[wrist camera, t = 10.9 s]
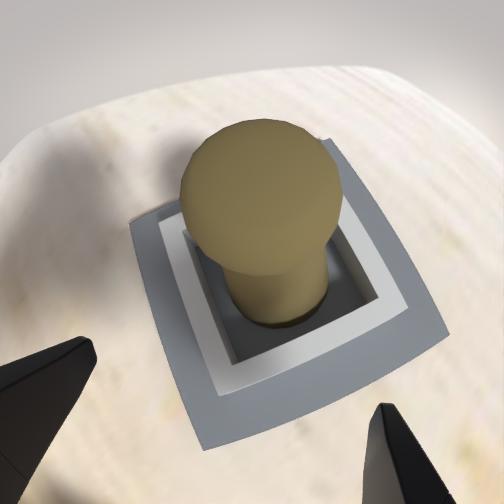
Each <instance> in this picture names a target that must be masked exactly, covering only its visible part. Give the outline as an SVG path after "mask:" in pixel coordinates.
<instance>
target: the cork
mask: <svg viewBox="0 0 504 504" xmlns="http://www.w3.org/2000/svg"><path fill="white" fill-rule="evenodd" d="M342 200H343V191H342V186H341V181H340V176H339V172H338V168H337V164H336V163H335V161H334V159H333V158H332V156H331V155H330V153H329V152H328V150H327V149H326V147H325V146H324V145H323V144H322V143H321V142H320V141H319V140H317V139H316V138H315V137H314V136H312V135H311V134H310V133H308V132H307V131H306V130H305V129H303V128H301V127H298V126H296V125H293V124H291V123H288V122H286V121H279V120H272V119H256V120H247V121H242V122H239V123H236V124H233V125H230V126H227V127H225V128H223V129H221V130H220V131H218V132H217V133H215V134H213V135H212V136H210V137H209V138H207V139H206V140H205V141H204V142H203V143H202V145H201V146H200V147H199V148H198V149H197V150H196V151H195V152H194V153H193V155H192V157H191V160H190V162H189V164H188V166H187V168H186V170H185V172H184V175H183V177H182V180H181V190H180V206H181V211H182V214H183V218H184V222H185V225H186V229H187V231H188V232H189V234H190V235H191V236H192V238H193V239H194V240H195V242H196V243H197V244H198V246H199V247H200V248H201V250H202V251H203V252H204V253H205V255H206V256H207V257H209V258H211V259H212V260H214V261H215V262H217V263H218V264H220V265H221V266H222V269H223V272H224V276H225V279H226V283H227V287H228V290H229V293H230V296H231V299H232V302H233V304H234V305H235V307H236V308H237V309H238V310H239V312H240V313H241V314H242V315H243V316H244V317H245V318H247V319H248V320H250V321H251V322H253V323H254V324H256V325H259V326H263V327H267V328H270V329H281V328H290V327H293V326H295V325H298V324H301V323H303V322H305V321H306V320H308V319H309V318H310V317H311V316H312V315H314V314H315V313H316V312H317V311H318V309H319V308H320V306H321V305H322V303H323V301H324V300H325V298H326V295H327V291H328V286H329V273H328V264H327V256H326V248H325V245H326V244H327V242H328V240H329V239H330V237H331V235H332V234H333V232H334V230H335V229H336V227H337V224H338V221H339V216H340V211H341V206H342Z"/></svg>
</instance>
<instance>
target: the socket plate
mask: <svg viewBox="0 0 504 504" xmlns="http://www.w3.org/2000/svg"><path fill="white" fill-rule="evenodd" d="M321 143H322V144H323V145H324V146H325V147H326V149H327V150H328V152H329V153H330V155H331V156H332V158H333V159H334V161H335V163H336V164H337V168H338V172H339V176H340V181H341V186H342V191H343V200H342V206H341V211H340V216H339V221H338V224H337V227H336V229H335V230H334V232H333V234H332V235H331V237H330V239H329V240H328V242H327V244H326V245H325V248H326V256H327V264H328V273H329V286H328V291H327V295H326V298H325V300H324V301H323V303H322V305H321V306H320V308H319V309H318V311H317V312H316V313H315V314H314V315H312V316H311V317H310V318H309V319H308V320H306V321H305V322H303V323H301V324H298V325H295V326H293V327H290V328H281V329H270V328H267V327H263V326H259V325H256V324H254V323H253V322H251V321H250V320H248V319H247V318H245V317H244V316H243V315H242V314H241V313H240V312H239V310H238V309H237V308H236V307H235V305H234V304H233V302H232V299H231V296H230V293H229V290H228V287H227V283H226V279H225V276H224V272H223V269H222V266H221V265H220V264H218V263H217V262H215V261H214V260H212V259H211V258H209V257H207V256H206V255H205V253H204V252H203V251H202V250H201V248H200V247H199V246H198V244H197V243H196V242H195V240H194V239H193V238H192V236H191V235H190V234H189V232H188V231H187V229H186V225H185V222H184V218H183V214H182V211H181V206H180V199H179V200H177V201H175V202H173V203H171V204H168V205H166V206H164V207H162V208H160V209H158V210H156V211H154V212H152V213H150V214H148V215H145V216H143V217H141V218H139V219H137V220H135V221H133V222H131V223H129V226H130V231H131V235H132V239H133V243H134V248H135V252H136V256H137V260H138V264H139V267H140V271H141V275H142V279H143V282H144V286H145V290H146V293H147V297H148V300H149V304H150V307H151V310H152V314H153V317H154V320H155V324H156V327H157V330H158V333H159V336H160V339H161V342H162V345H163V348H164V351H165V354H166V357H167V360H168V363H169V366H170V369H171V371H172V374H173V377H174V380H175V382H176V385H177V388H178V390H179V393H180V396H181V398H182V401H183V403H184V406H185V409H186V411H187V414H188V416H189V418H190V421H191V423H192V426H193V428H194V430H195V433H196V435H197V438H198V440H199V442H200V444H201V447H202V449H203V451H205V450H209V449H212V448H216V447H219V446H222V445H225V444H229V443H232V442H235V441H238V440H241V439H244V438H247V437H250V436H253V435H255V434H258V433H261V432H264V431H266V430H269V429H272V428H274V427H277V426H280V425H282V424H285V423H287V422H290V421H292V420H295V419H297V418H299V417H302V416H304V415H306V414H309V413H311V412H313V411H315V410H318V409H320V408H322V407H324V406H326V405H329V404H331V403H333V402H335V401H337V400H339V399H341V398H343V397H345V396H347V395H349V394H351V393H353V392H355V391H357V390H359V389H361V388H363V387H365V386H367V385H369V384H371V383H372V382H374V381H376V380H378V379H380V378H382V377H383V376H385V375H387V374H389V373H390V372H392V371H394V370H396V369H397V368H399V367H401V366H402V365H404V364H406V363H407V362H409V361H411V360H412V359H414V358H416V357H417V356H419V355H420V354H422V353H424V352H425V351H427V350H428V349H430V348H431V347H433V346H434V345H436V344H437V343H439V342H440V341H442V340H443V339H445V338H446V337H448V336H449V335H450V334H449V332H448V329H447V327H446V325H445V323H444V321H443V319H442V317H441V315H440V313H439V311H438V309H437V307H436V305H435V303H434V301H433V299H432V297H431V295H430V293H429V291H428V289H427V287H426V285H425V284H424V282H423V280H422V278H421V276H420V274H419V272H418V271H417V269H416V267H415V265H414V264H413V262H412V260H411V258H410V256H409V255H408V253H407V251H406V250H405V248H404V246H403V245H402V243H401V241H400V239H399V238H398V236H397V235H396V233H395V231H394V230H393V228H392V226H391V225H390V223H389V222H388V220H387V218H386V217H385V215H384V214H383V212H382V211H381V209H380V207H379V206H378V204H377V203H376V201H375V200H374V198H373V197H372V195H371V194H370V192H369V191H368V189H367V188H366V186H365V185H364V184H363V182H362V181H361V179H360V178H359V176H358V175H357V174H356V172H355V171H354V169H353V168H352V167H351V165H350V164H349V162H348V161H347V160H346V158H345V157H344V156H343V154H342V153H341V151H340V150H339V149H338V147H337V146H336V145H335V143H334V142H333V141H332V140H331V138H329V139H326V140H323V141H321Z"/></svg>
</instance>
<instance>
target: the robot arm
mask: <svg viewBox="0 0 504 504" xmlns="http://www.w3.org/2000/svg"><path fill="white" fill-rule="evenodd" d="M96 363H97V356H96V352H95V349H94V346H93V343H92V341H91V340H90V339H89V338H86V337H83V336H78V337H76V338H73V339H71V340H68V341H66V342H63V343H60V344H58V345H55V346H53V347H50V348H47V349H45V350H42V351H40V352H37V353H34V354H32V355H29V356H26V357H24V358H21V359H18V360H16V361H13V362H11V363H8V364H5V365H3V366H0V504H18V502H19V500H20V498H21V496H22V494H23V492H24V490H25V489H26V487H27V485H28V483H29V481H30V479H31V477H32V476H33V474H34V472H35V470H36V468H37V467H38V465H39V463H40V461H41V460H42V458H43V456H44V454H45V453H46V451H47V449H48V448H49V446H50V444H51V443H52V441H53V439H54V437H55V436H56V434H57V432H58V431H59V429H60V428H61V426H62V424H63V423H64V421H65V419H66V418H67V416H68V415H69V413H70V411H71V410H72V408H73V407H74V405H75V403H76V402H77V400H78V398H79V397H80V395H81V393H82V391H83V389H84V387H85V385H86V383H87V381H88V379H89V377H90V375H91V373H92V371H93V369H94V367H95V365H96ZM448 493H449V491H448V489H447V487H446V486H445V484H444V482H443V481H442V479H441V477H440V476H439V474H438V473H437V471H436V469H435V468H434V466H433V465H432V463H431V461H430V460H429V458H428V457H427V455H426V453H425V452H424V450H423V449H422V447H421V445H420V444H419V442H418V441H417V439H416V438H415V436H414V434H413V433H412V431H411V430H410V428H409V427H408V425H407V423H406V422H405V420H404V419H403V417H402V416H401V414H400V413H399V411H398V410H397V408H396V407H395V405H394V404H392V403H380V404H379V405H378V406H377V408H376V410H375V412H374V414H373V416H372V418H371V420H370V424H369V430H368V439H367V448H366V456H365V463H364V471H363V497H362V504H456V502H455V500H454V499H453V497H452V495H451V494H450V493H449V494H448Z"/></svg>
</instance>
